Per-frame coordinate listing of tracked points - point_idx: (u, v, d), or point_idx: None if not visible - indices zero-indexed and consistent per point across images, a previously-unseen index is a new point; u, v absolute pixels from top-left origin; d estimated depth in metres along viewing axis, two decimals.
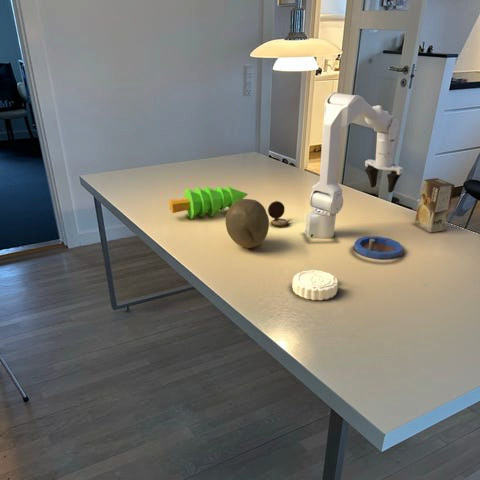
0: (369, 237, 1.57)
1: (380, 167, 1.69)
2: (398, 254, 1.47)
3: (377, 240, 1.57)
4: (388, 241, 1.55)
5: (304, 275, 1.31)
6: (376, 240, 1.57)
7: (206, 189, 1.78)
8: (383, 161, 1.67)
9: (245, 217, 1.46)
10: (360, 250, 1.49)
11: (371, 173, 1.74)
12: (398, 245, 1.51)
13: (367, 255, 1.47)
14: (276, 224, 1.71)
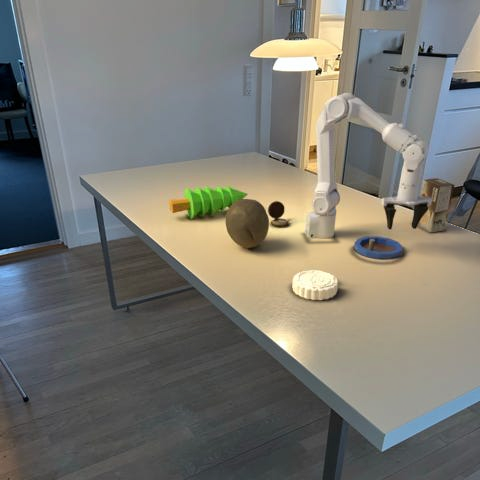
0: (369, 237, 1.57)
1: None
2: (398, 254, 1.47)
3: (377, 240, 1.57)
4: (388, 241, 1.55)
5: (304, 275, 1.31)
6: (376, 240, 1.57)
7: (206, 189, 1.78)
8: None
9: (245, 217, 1.46)
10: (360, 250, 1.49)
11: (414, 208, 1.48)
12: (398, 245, 1.51)
13: (367, 255, 1.47)
14: (276, 224, 1.71)
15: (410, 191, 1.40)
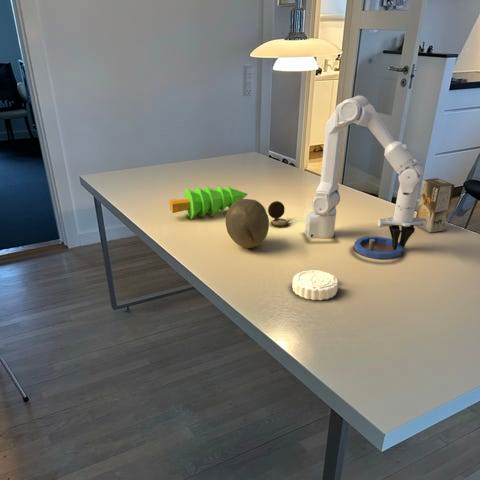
0: (369, 237, 1.57)
1: None
2: (398, 254, 1.47)
3: (377, 240, 1.57)
4: (388, 241, 1.55)
5: (304, 275, 1.31)
6: (376, 240, 1.57)
7: (206, 189, 1.78)
8: None
9: (245, 217, 1.46)
10: (360, 250, 1.49)
11: (402, 229, 1.51)
12: (398, 245, 1.51)
13: (367, 255, 1.47)
14: (276, 224, 1.71)
15: (406, 213, 1.44)
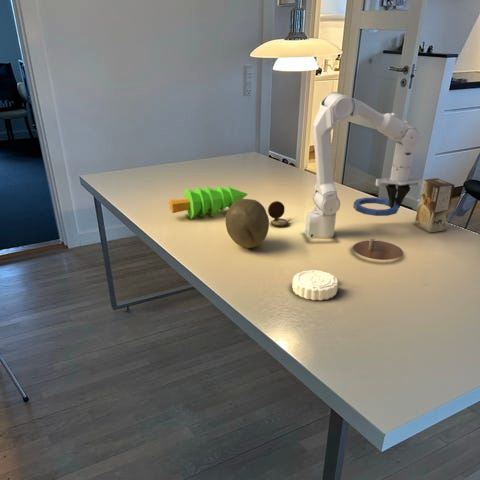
0: (367, 198, 1.67)
1: None
2: (394, 211, 1.57)
3: (375, 201, 1.67)
4: (385, 201, 1.65)
5: (304, 275, 1.31)
6: (374, 201, 1.67)
7: (206, 189, 1.78)
8: None
9: (245, 217, 1.46)
10: (359, 208, 1.59)
11: (398, 189, 1.61)
12: (395, 204, 1.61)
13: (365, 212, 1.57)
14: (276, 224, 1.71)
15: (401, 172, 1.54)
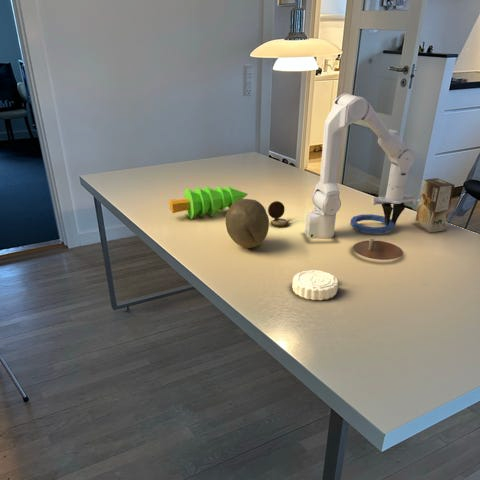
0: (364, 215, 1.72)
1: None
2: (390, 229, 1.63)
3: (371, 218, 1.72)
4: (381, 218, 1.70)
5: (304, 275, 1.31)
6: (370, 218, 1.72)
7: (206, 189, 1.78)
8: None
9: (245, 217, 1.46)
10: (356, 226, 1.64)
11: (393, 206, 1.67)
12: (390, 221, 1.67)
13: (362, 230, 1.63)
14: (276, 224, 1.71)
15: (397, 192, 1.59)
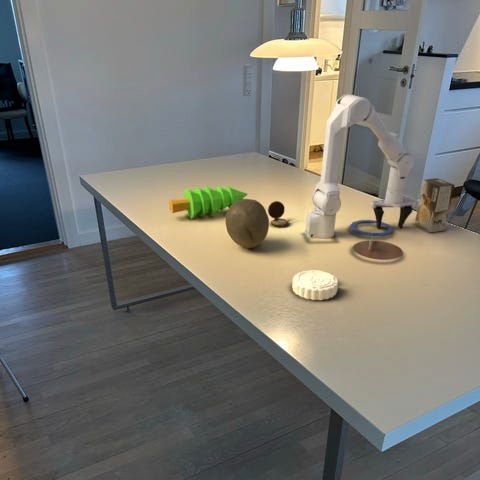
0: (363, 220, 1.73)
1: None
2: None
3: None
4: None
5: (304, 275, 1.31)
6: None
7: (206, 189, 1.78)
8: None
9: (245, 217, 1.46)
10: (355, 231, 1.65)
11: (400, 210, 1.67)
12: (389, 227, 1.68)
13: None
14: (276, 224, 1.71)
15: (396, 195, 1.60)
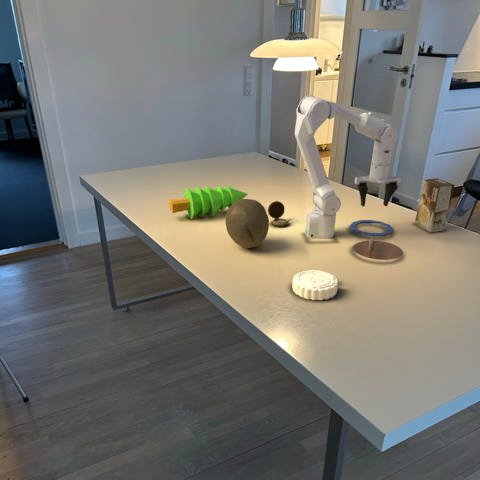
0: (363, 220, 1.73)
1: None
2: None
3: None
4: (380, 224, 1.71)
5: (304, 275, 1.31)
6: None
7: (206, 189, 1.78)
8: None
9: (245, 217, 1.46)
10: (355, 231, 1.65)
11: (386, 187, 1.61)
12: (389, 227, 1.68)
13: None
14: (276, 224, 1.71)
15: (380, 171, 1.53)
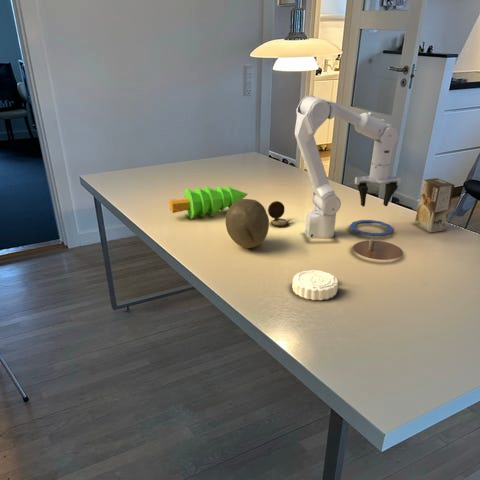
0: (363, 220, 1.73)
1: None
2: None
3: None
4: (380, 224, 1.71)
5: (304, 275, 1.31)
6: None
7: (206, 189, 1.78)
8: None
9: (245, 217, 1.46)
10: (355, 231, 1.65)
11: (386, 187, 1.61)
12: (389, 227, 1.68)
13: None
14: (276, 224, 1.71)
15: (380, 171, 1.53)
